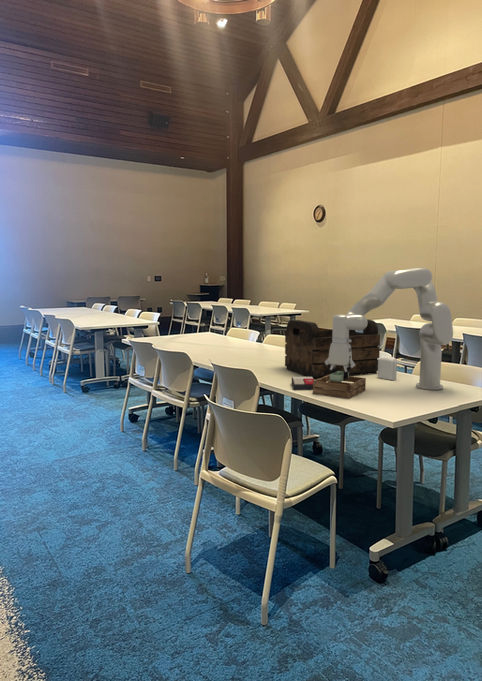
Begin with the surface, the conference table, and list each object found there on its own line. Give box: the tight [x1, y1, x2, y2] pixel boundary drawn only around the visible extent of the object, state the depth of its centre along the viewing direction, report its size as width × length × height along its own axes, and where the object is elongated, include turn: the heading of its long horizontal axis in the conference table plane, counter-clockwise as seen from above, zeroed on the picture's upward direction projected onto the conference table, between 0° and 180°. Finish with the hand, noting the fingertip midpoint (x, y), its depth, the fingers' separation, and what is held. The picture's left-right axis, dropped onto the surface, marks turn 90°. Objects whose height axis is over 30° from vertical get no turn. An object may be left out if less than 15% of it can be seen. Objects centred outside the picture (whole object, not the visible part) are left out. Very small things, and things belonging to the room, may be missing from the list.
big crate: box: [312, 375, 367, 400], centre depth 226 cm, size 20×18×6 cm
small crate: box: [330, 371, 349, 382], centre depth 225 cm, size 10×5×3 cm, turn 145°
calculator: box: [291, 376, 315, 391], centre depth 238 cm, size 11×4×15 cm
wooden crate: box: [284, 319, 381, 380], centre depth 276 cm, size 42×34×30 cm
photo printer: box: [377, 355, 398, 381], centre depth 255 cm, size 10×4×12 cm, turn 39°
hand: (339, 378), depth 226 cm, fingers closed on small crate, 5 cm apart
